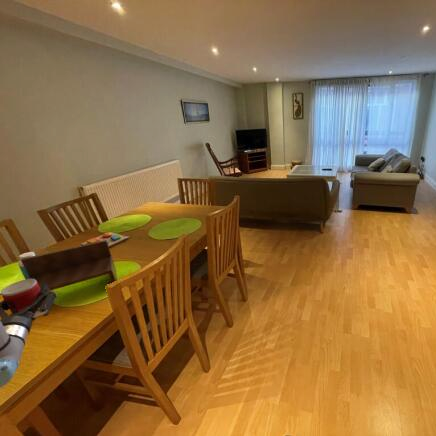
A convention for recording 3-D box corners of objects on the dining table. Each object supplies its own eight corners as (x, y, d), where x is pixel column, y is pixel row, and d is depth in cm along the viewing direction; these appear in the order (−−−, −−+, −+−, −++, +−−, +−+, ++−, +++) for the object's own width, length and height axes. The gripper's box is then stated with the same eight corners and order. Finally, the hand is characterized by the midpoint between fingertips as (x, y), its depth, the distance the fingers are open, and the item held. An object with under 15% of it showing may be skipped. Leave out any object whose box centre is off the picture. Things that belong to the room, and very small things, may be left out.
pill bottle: (32, 285, 108) (19, 260, 103) (23, 282, 110) (10, 257, 105) (53, 276, 114) (41, 251, 109) (43, 273, 117) (32, 249, 112)
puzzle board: (102, 251, 136) (100, 246, 135) (80, 246, 142) (78, 241, 141) (130, 238, 152) (129, 233, 150) (109, 234, 157) (107, 229, 156)
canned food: (54, 303, 85) (42, 277, 80) (36, 320, 77) (21, 293, 73) (29, 305, 83) (15, 279, 79) (8, 323, 76) (-8, 295, 72)
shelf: (29, 314, 92) (9, 277, 85) (38, 292, 104) (21, 258, 97) (117, 286, 107) (106, 253, 100) (116, 270, 119) (106, 239, 112)
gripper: (-44, 366, 60) (-12, 312, 77) (64, 328, 72) (72, 288, 89) (-61, 345, 57) (-23, 293, 75) (55, 308, 69) (65, 271, 86)
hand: (28, 290), depth 82 cm, fingers closed on canned food, 8 cm apart
